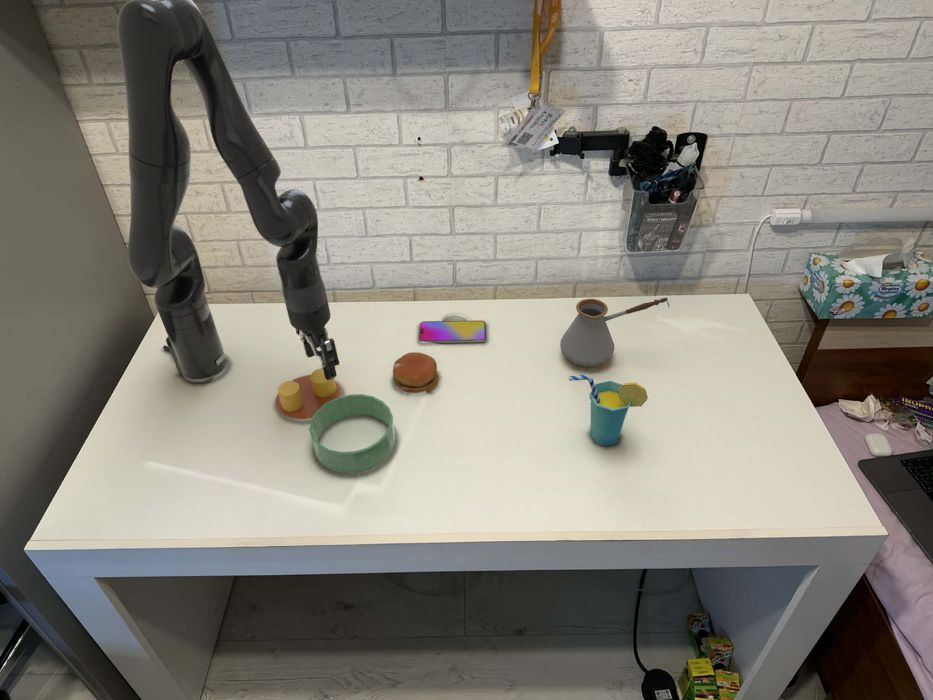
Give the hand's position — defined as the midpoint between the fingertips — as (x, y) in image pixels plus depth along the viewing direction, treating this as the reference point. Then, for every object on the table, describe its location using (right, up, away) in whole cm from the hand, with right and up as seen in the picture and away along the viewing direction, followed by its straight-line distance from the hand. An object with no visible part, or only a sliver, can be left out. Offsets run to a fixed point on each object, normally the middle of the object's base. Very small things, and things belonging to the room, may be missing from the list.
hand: (321, 366), depth 130 cm
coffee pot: (+60, +2, +12) cm, 61 cm away
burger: (+18, -3, +7) cm, 20 cm away
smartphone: (+26, +7, +19) cm, 33 cm away
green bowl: (+8, -15, -6) cm, 18 cm away
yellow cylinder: (-6, -8, +1) cm, 10 cm away
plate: (-3, -7, +3) cm, 8 cm away
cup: (+54, -13, -6) cm, 56 cm away
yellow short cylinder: (0, -5, +4) cm, 6 cm away
